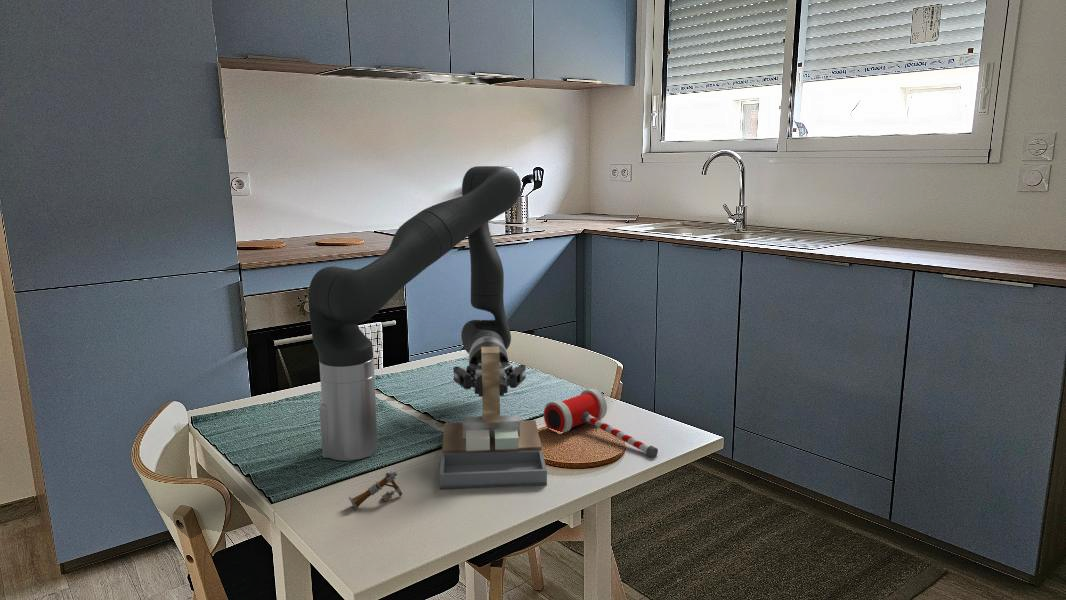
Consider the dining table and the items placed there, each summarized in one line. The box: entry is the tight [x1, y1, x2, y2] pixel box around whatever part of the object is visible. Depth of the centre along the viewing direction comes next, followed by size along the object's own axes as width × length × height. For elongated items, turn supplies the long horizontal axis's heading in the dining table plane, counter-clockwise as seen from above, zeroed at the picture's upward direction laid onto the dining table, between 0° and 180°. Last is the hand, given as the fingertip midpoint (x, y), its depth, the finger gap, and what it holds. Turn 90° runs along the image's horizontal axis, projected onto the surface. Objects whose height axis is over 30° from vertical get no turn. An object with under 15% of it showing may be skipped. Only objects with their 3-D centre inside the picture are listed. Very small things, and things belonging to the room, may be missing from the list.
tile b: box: [494, 429, 519, 450], centre depth 124 cm, size 4×4×2 cm
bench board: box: [441, 419, 543, 454], centre depth 129 cm, size 17×12×3 cm
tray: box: [439, 449, 548, 490], centre depth 119 cm, size 17×8×2 cm, turn 95°
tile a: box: [466, 430, 490, 451], centre depth 124 cm, size 4×4×2 cm
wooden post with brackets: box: [348, 471, 404, 511], centre depth 111 cm, size 2×8×4 cm, turn 120°
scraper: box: [462, 347, 521, 439], centre depth 125 cm, size 10×3×16 cm, turn 95°
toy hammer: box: [543, 388, 659, 458], centre depth 134 cm, size 23×12×6 cm, turn 42°
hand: (491, 390), depth 122 cm, fingers closed on scraper, 3 cm apart
